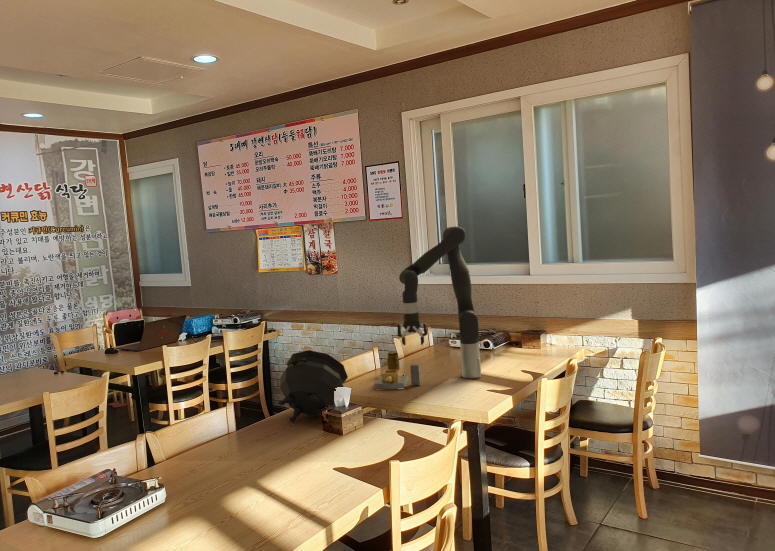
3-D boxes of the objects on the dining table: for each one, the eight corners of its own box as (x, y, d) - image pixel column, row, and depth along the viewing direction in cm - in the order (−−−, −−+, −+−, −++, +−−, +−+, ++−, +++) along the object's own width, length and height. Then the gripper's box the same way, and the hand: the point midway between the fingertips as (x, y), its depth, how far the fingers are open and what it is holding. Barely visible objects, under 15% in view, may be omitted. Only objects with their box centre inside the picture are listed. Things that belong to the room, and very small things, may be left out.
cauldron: (259, 413, 241) (275, 366, 259) (319, 439, 249) (330, 392, 267) (288, 383, 224) (302, 335, 241) (351, 411, 232) (360, 363, 250)
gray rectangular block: (420, 384, 285) (419, 364, 285) (419, 385, 282) (418, 365, 282) (412, 384, 286) (411, 364, 285) (411, 386, 283) (410, 365, 282)
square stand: (408, 381, 292) (407, 367, 292) (403, 389, 279) (402, 374, 278) (381, 381, 295) (380, 368, 294) (375, 389, 281) (373, 375, 281)
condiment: (395, 372, 311) (393, 350, 310) (405, 375, 305) (404, 352, 304) (384, 375, 307) (382, 353, 306) (395, 378, 300) (393, 355, 299)
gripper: (426, 309, 284) (428, 342, 285) (397, 311, 286) (400, 343, 288) (424, 312, 276) (426, 346, 278) (394, 313, 279) (397, 346, 281)
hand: (413, 344), depth 283 cm, fingers open, 8 cm apart
